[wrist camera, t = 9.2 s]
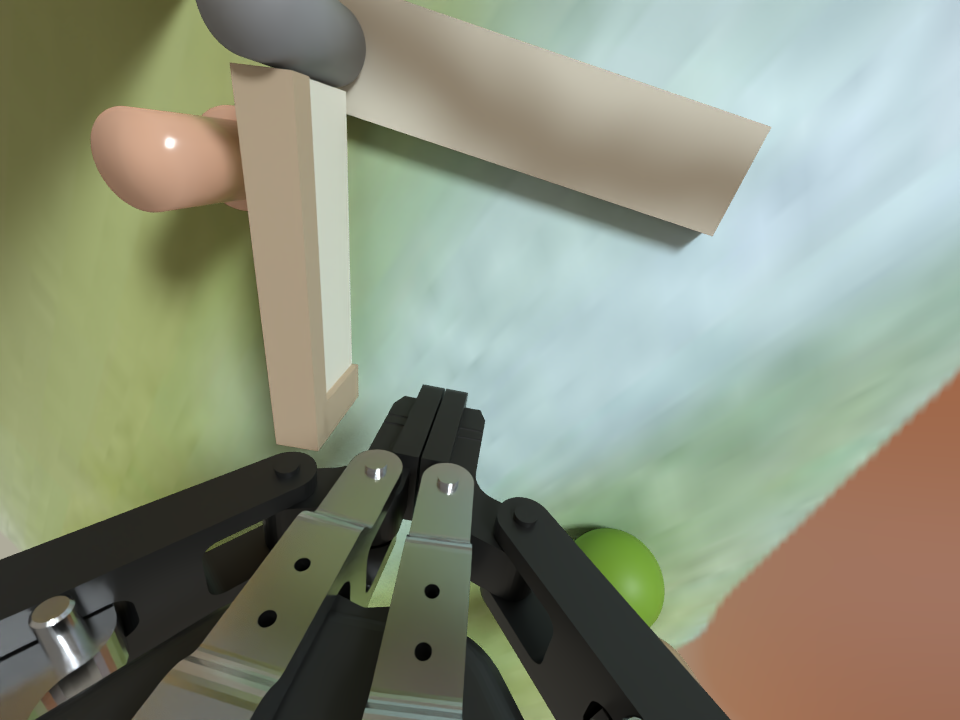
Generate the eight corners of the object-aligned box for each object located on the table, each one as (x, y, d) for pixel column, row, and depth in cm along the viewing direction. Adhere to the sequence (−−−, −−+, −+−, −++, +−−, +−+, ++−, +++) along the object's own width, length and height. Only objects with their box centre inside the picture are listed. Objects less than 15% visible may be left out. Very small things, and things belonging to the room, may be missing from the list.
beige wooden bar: (293, -5, 15) (183, -80, 10) (365, 3, 15) (288, -68, 10) (318, 387, 22) (260, 450, 17) (367, 395, 22) (322, 460, 17)
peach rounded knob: (207, 94, 18) (66, 66, 12) (300, 125, 18) (199, 110, 12) (207, 192, 19) (83, 206, 14) (291, 220, 20) (200, 243, 14)
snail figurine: (656, 577, 27) (740, 859, 16) (554, 566, 27) (569, 831, 17) (676, 514, 24) (789, 794, 14) (563, 503, 25) (588, 764, 14)
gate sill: (300, -29, 16) (286, -40, 15) (758, 128, 16) (771, 126, 15) (291, 94, 17) (277, 91, 16) (703, 232, 18) (712, 236, 17)
